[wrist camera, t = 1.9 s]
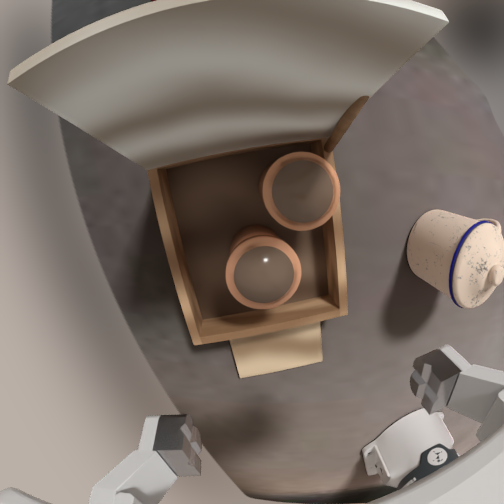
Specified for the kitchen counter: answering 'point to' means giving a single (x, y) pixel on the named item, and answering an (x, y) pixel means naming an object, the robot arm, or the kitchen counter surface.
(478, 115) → the kitchen counter surface
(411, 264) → the teacup with lid
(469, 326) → the kitchen counter surface
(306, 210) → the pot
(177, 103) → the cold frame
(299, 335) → the cork mat
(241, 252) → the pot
